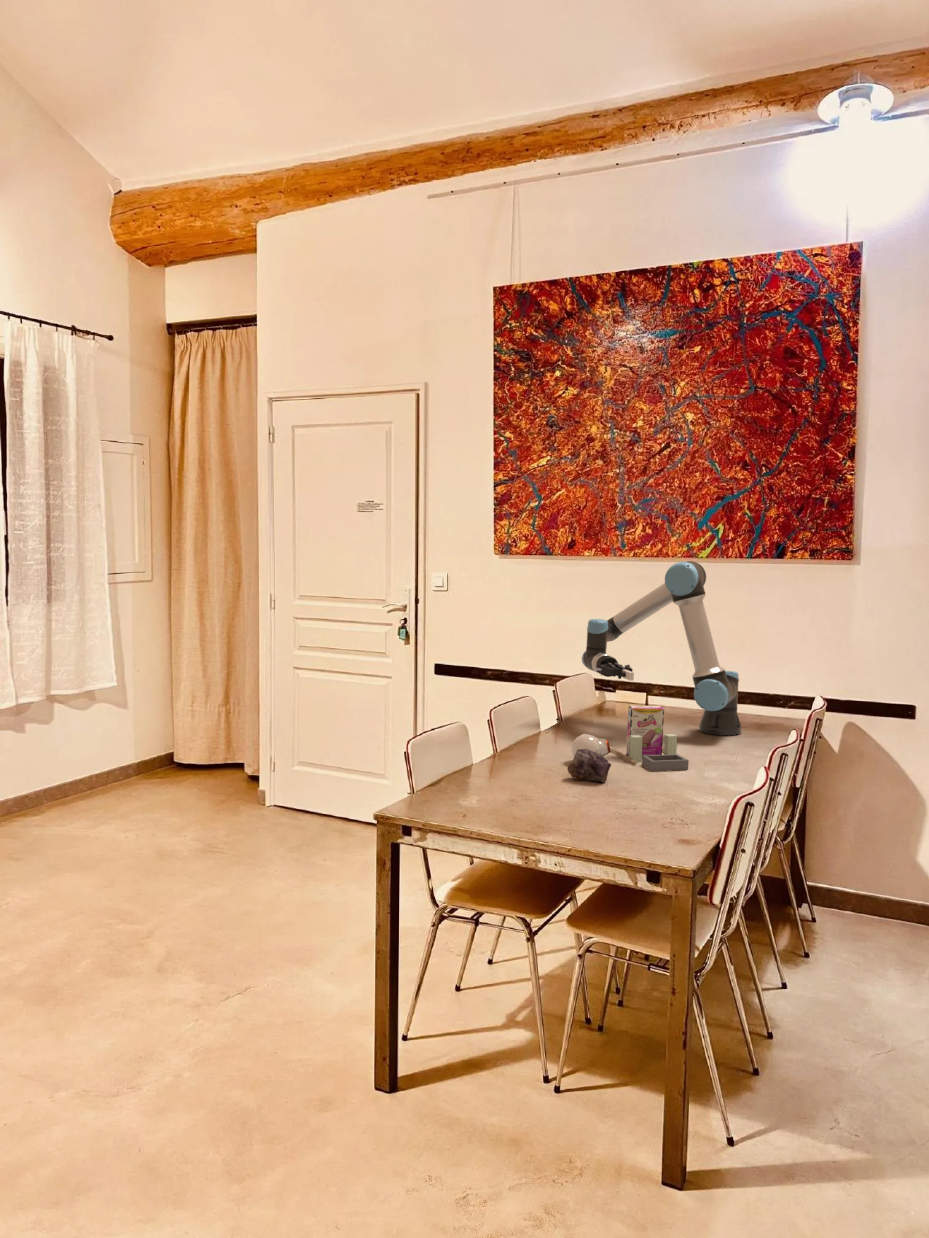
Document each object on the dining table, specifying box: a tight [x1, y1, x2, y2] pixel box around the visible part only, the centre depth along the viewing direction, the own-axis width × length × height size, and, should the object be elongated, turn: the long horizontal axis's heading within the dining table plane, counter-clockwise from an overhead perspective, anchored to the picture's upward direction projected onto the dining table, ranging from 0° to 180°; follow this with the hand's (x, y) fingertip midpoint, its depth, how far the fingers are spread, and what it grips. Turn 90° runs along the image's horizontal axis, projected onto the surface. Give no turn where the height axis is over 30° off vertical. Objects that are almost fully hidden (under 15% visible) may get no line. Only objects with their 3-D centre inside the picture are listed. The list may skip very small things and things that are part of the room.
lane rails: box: [609, 744, 664, 766], centre depth 320 cm, size 18×26×1 cm
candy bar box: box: [625, 705, 665, 757], centre depth 318 cm, size 11×5×16 cm, turn 93°
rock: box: [567, 749, 612, 783], centre depth 287 cm, size 12×9×10 cm
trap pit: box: [641, 753, 690, 772], centre depth 304 cm, size 12×8×3 cm, turn 102°
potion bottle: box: [570, 733, 611, 757], centre depth 310 cm, size 9×10×15 cm
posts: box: [628, 733, 678, 763], centre depth 313 cm, size 15×3×8 cm, turn 102°
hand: (631, 676), depth 332 cm, fingers closed
